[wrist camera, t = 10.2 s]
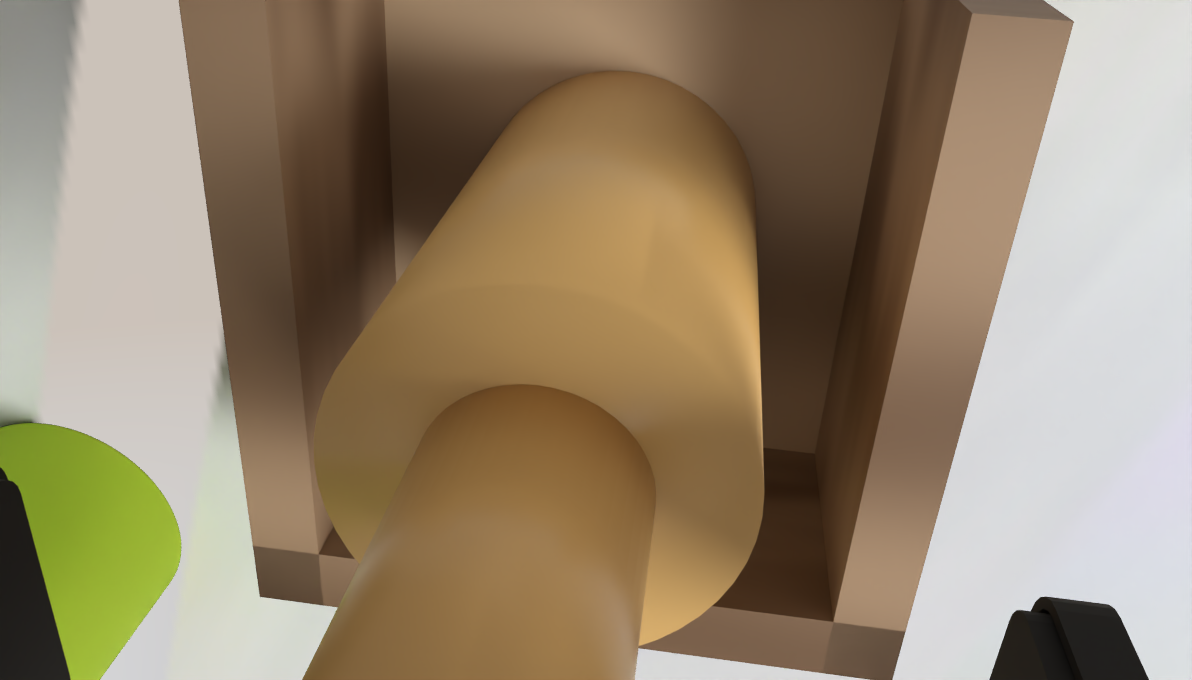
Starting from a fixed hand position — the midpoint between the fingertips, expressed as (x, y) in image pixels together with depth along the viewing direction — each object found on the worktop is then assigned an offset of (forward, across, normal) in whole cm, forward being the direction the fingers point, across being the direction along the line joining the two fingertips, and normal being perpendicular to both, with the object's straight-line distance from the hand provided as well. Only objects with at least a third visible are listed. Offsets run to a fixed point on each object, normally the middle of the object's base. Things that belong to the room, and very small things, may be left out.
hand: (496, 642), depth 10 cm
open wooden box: (+12, 0, 0) cm, 12 cm away
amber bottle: (+11, 0, 0) cm, 11 cm away
